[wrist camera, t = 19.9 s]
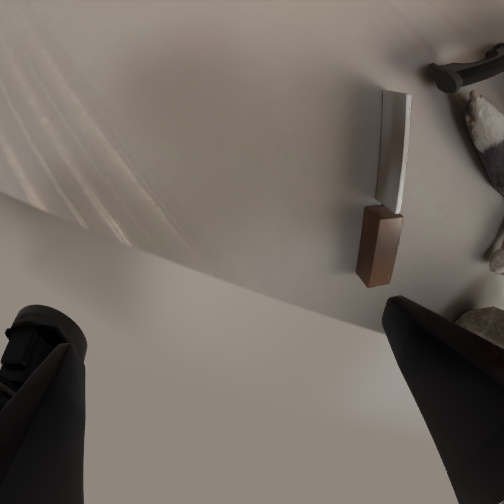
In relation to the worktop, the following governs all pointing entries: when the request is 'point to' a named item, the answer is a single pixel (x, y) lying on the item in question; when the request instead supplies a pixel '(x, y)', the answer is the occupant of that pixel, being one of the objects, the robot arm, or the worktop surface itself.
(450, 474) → the robot arm
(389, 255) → the cake knife
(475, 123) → the bird model
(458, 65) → the knife
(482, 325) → the rock
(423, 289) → the worktop surface
